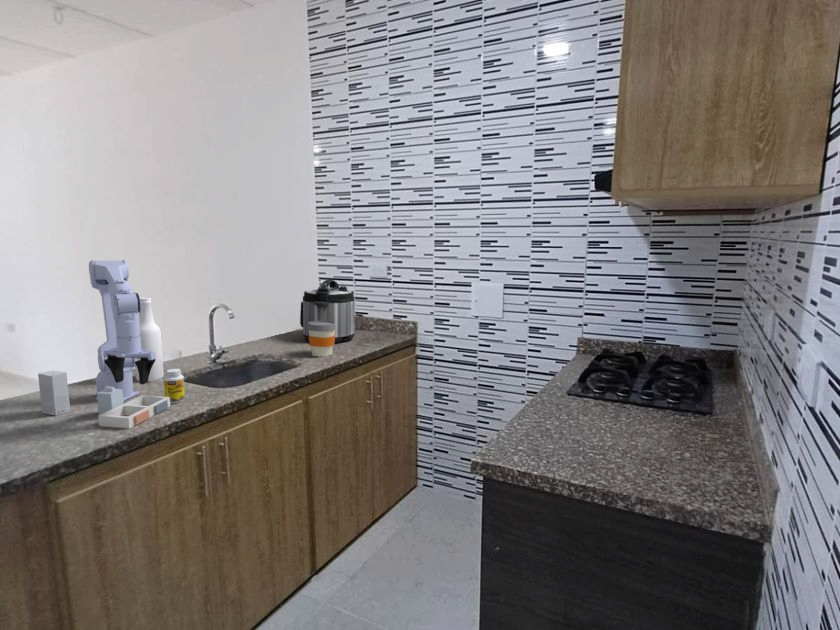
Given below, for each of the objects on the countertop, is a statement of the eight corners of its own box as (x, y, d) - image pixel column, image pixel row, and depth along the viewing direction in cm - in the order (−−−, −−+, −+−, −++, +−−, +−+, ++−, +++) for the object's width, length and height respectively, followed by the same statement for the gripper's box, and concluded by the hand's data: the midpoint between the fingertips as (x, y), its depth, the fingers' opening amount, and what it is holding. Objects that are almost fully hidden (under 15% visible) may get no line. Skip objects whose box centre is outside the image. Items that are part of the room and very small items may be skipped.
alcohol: (133, 383, 159) (126, 299, 154) (139, 376, 168) (133, 296, 163) (161, 381, 162) (155, 299, 157) (166, 374, 170) (161, 296, 166)
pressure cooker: (332, 331, 261) (332, 276, 256) (367, 338, 243) (368, 280, 238) (288, 338, 237) (287, 278, 232) (323, 347, 220) (323, 283, 215)
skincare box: (71, 411, 133) (67, 372, 131) (55, 416, 129) (51, 376, 127) (57, 408, 135) (53, 369, 133) (41, 413, 131) (36, 373, 129)
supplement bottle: (166, 405, 140) (164, 373, 138) (164, 399, 145) (162, 369, 143) (186, 402, 143) (184, 371, 141) (183, 397, 148) (182, 367, 146)
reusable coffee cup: (327, 359, 199) (327, 326, 197) (302, 356, 203) (302, 323, 200) (340, 353, 211) (340, 321, 208) (317, 350, 215) (317, 319, 212)
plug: (98, 416, 130) (96, 388, 129) (110, 410, 135) (108, 384, 133) (112, 417, 130) (110, 390, 128) (124, 411, 134) (122, 385, 133)
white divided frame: (99, 426, 123) (98, 415, 123) (143, 404, 140) (142, 395, 140) (131, 428, 122) (130, 418, 122) (172, 406, 139) (171, 397, 139)
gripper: (93, 337, 123) (97, 385, 126) (142, 340, 122) (145, 388, 124) (113, 332, 130) (116, 377, 132) (159, 335, 129) (162, 380, 131)
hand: (131, 382), depth 129 cm, fingers open, 7 cm apart
